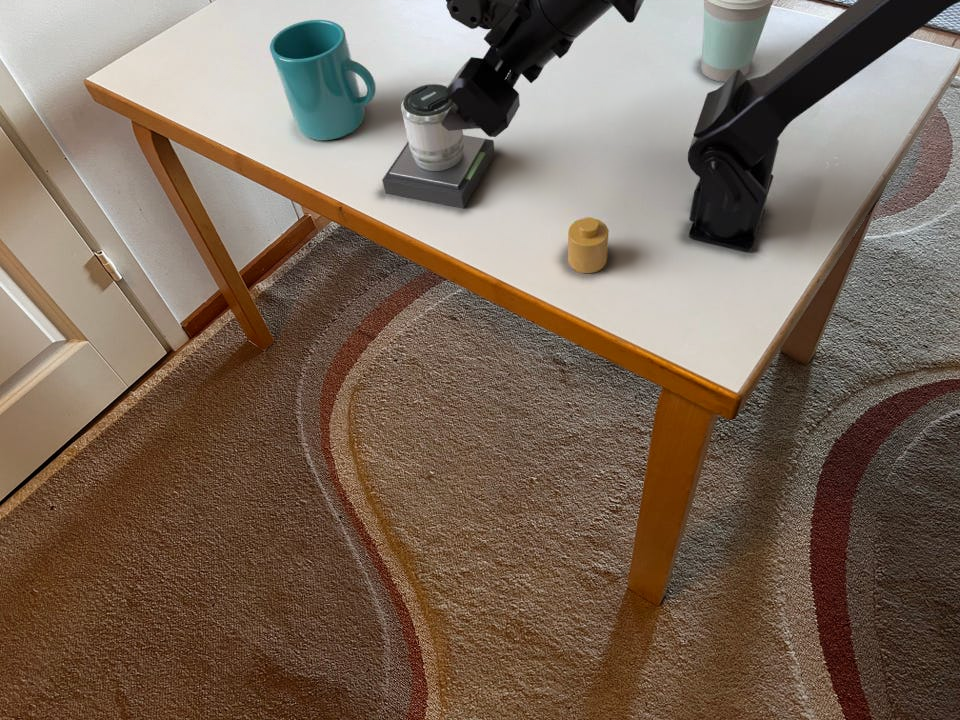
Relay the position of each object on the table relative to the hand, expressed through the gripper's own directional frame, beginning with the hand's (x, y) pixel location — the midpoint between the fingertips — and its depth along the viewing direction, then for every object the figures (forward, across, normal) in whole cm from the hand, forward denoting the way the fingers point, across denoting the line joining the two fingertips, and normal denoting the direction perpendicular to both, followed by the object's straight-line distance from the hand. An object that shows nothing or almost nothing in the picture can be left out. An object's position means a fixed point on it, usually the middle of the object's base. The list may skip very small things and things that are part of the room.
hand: (461, 100), depth 76 cm
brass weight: (-4, +9, +19) cm, 21 cm away
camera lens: (+8, 0, +3) cm, 9 cm away
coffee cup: (-9, -28, +24) cm, 39 cm away
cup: (+22, -6, -7) cm, 24 cm away
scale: (+10, 0, +4) cm, 11 cm away
